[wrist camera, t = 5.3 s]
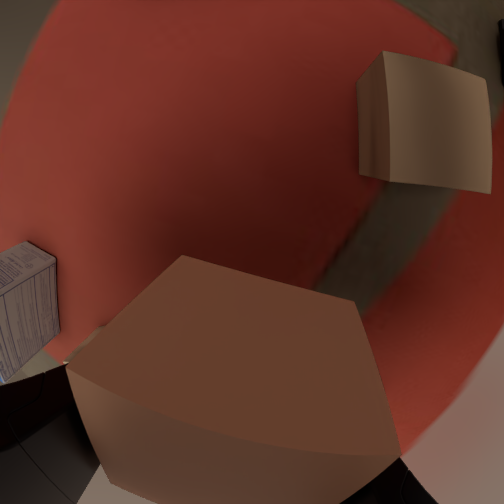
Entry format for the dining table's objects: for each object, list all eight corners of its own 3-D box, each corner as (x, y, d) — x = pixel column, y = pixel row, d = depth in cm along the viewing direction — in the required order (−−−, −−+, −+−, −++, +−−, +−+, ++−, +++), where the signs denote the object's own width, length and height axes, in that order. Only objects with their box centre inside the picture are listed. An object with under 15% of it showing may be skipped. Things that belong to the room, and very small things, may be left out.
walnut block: (436, 96, 11) (485, 79, 7) (439, 181, 13) (490, 194, 8) (355, 83, 12) (382, 50, 7) (358, 174, 14) (389, 181, 9)
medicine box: (27, 238, 18) (-49, 275, 10) (59, 257, 18) (-24, 305, 10) (32, 311, 21) (-26, 356, 13) (62, 333, 21) (3, 387, 12)
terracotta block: (354, 301, 8) (401, 454, 3) (298, 412, 9) (290, 531, 4) (182, 254, 8) (65, 366, 3) (168, 376, 9) (110, 483, 5)
